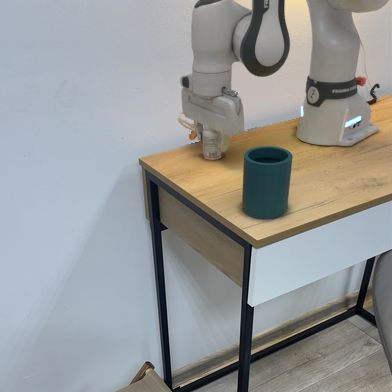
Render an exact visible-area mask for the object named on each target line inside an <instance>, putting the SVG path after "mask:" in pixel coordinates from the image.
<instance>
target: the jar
mask: <svg viewBox="0 0 392 392" xmlns="http://www.w3.org/2000/svg"><path fill="white" fill-rule="evenodd" d="M293 158H294V157H293V153H292V152H291V151H290V150H288V149H286V148H283V147H279V146H271V145H262V146H256V147H253V148H249V149H248V150H246V151H245V152H244V153H243V169H242V173H243V174H242V195H241V196H242V197H241V199H242V200H241V210H242V212H243V213H244V214H245V215H247V216H248V217H250V218H254V219H259V220H272V219H277V218H280V217H282V216H284V215H285V214H286V213H287V211H288V206H289V197H290V196H289V195H290V185H291V176H292V167H293Z"/></svg>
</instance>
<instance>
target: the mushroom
mask: <svg viewBox="0 0 392 392" xmlns="http://www.w3.org/2000/svg"><path fill="white" fill-rule="evenodd" d="M182 115H184V113H183V110H181V111H179V116H177V122H178V123H179V124H180V125H181V126H182V128H185V129H187V130H189V131H190V130H192V131H191V134H189V133H188V139H189V141H194V140H195V139H197V132H196V129H195V126H194V124H193V123H191V122H190V121H187V119H185V118H183V117H182Z"/></svg>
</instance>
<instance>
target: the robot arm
mask: <svg viewBox="0 0 392 392" xmlns="http://www.w3.org/2000/svg"><path fill="white" fill-rule="evenodd" d="M305 1H306V4H307V9H308V12H309V19H310V26H311V27H310V28H311V53H310V61H309V62H310V63H309V74H308V75H307V76H306V82H305V91H304V92H305V97H304V99H303V102H302V103H303V104H302V105H301V106H300V118H299V122H298V123H297V126H296V129H297V131H296V133H295V136H296V138H297V139H298V140H300V141H302V142H305V143H308V144H312V145H316V146H342V147H352V146H353V145H355V144H357V143H359V142H361V141H362V140H364V139H366V138H368V137H371V136H372V135H373V134H376V133H377V132H378V131H379V126H377V125H376V124H374V123H373V122H371V118H372V107H371V105H370V104H373V103H375V102H376V101H377V100H378V97H377V95H376V94H374V91H375V89H380V88H381V86H380V83H378V82H377V83H375V84H374V85H373V86H372V88H371V89H370V90H369V94H370V96H371V97H372V98H373V99H371V100H365V99H364V98H363V96H361V95H360V94H359V93H358V91H359V90H358V86H359V87H365V85H366V83H367V77H365V76H361V75H359V76H357V77H356V74H357V67H358V61H359V55H360V49H361V38H360V35H359V33H358V31H357V29H356V27H355V23H354V20H353V13H355V14H364V13H370V12H375V11H378V10H380V9H383V7H385V6H386V4H388V2H389V1H390V0H305ZM285 5H286V0H251V9H250V8H248V7H245V6H243V5H241V4H240V3H238V2H236V1H235V0H197V1H196V2H195V4H194V6H193V9H192V15H191V25H190V26H191V31H190V32H191V33H190V43H191V44H190V45H191V50H192V51H191V52H192V55H193V61H192V65H191V70H192V71H191V73H189V74H185V75H182V76H180V78H179V81H180V82H179V84H180V86H181V87H182V88H181V111H183V113H184V114H183V116H184V117H185V118H187V119H190V120H191V121H193V123H194V126H195V129H196V132H197V137H196V139H197V140H198V141H199V142H203V130H204V123H206V124H207V125H208V127H209V128H211V129H214V130H216V131H218V132H220V133H221V137H222V140H221V142H220V143H218V146H219V147H218V149H219V150H221V151H222V153H224V152H227V151H228V150H229V142H230V140H231V138H235V137H238V136H241V135H242V134H243V133H244V131H245V112H244V104H243V101H242V98H241V96H240V95H239V93H238V92H237V90H234V89H233V90H232V74H233V72H232V70H233V64H235V63H241V64H242V65H243V66H244V67H245V69H246V70H247V71H248V73H250V74H251V75H253V76H255V77H259V78H265V77H269V76H272V75H274V74H276V73H277V72H278V71H279V70H280V69H281V68H282V67H283V66H284V64H285V63H286V61H287V59H288V57H289V54H290V49H291V39H290V38H291V37H290V32H289V30H288V26H287V22H286V15H285V14H286V13H285Z"/></svg>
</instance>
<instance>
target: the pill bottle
mask: <svg viewBox="0 0 392 392" xmlns="http://www.w3.org/2000/svg"><path fill="white" fill-rule="evenodd" d="M203 127H204V130H203V141H202V155H203V158H204V159H206V160H209V161H216V160H219V159H221V158H222V157H223V151H221V150H219V149H218V147H219V146H218V143H220V142H221V140H222V137H221V133H220V132H218V131H216V130H214V129H211V128H209V127H208V125H207V124H206V123H204V125H203Z"/></svg>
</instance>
